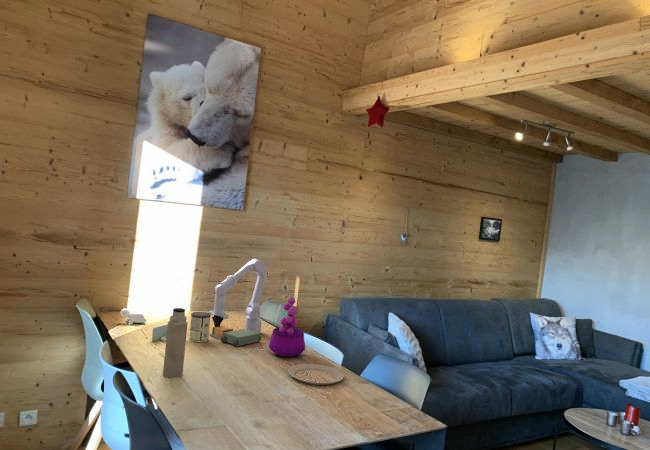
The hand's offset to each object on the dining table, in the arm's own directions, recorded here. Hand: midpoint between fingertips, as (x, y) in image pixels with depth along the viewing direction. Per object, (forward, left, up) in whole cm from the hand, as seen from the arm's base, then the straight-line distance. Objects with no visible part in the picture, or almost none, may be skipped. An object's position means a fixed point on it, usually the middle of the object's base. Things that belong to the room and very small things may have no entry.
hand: (216, 329), depth 275 cm
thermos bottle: (+60, +40, -3) cm, 72 cm away
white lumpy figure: (+25, -44, -3) cm, 51 cm away
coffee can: (+16, +4, -3) cm, 17 cm away
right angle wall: (+30, -3, -4) cm, 30 cm away
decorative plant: (-3, +50, -3) cm, 50 cm away
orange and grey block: (0, +5, -3) cm, 6 cm away
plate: (+12, +80, -3) cm, 81 cm away
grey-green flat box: (0, +14, -3) cm, 14 cm away
